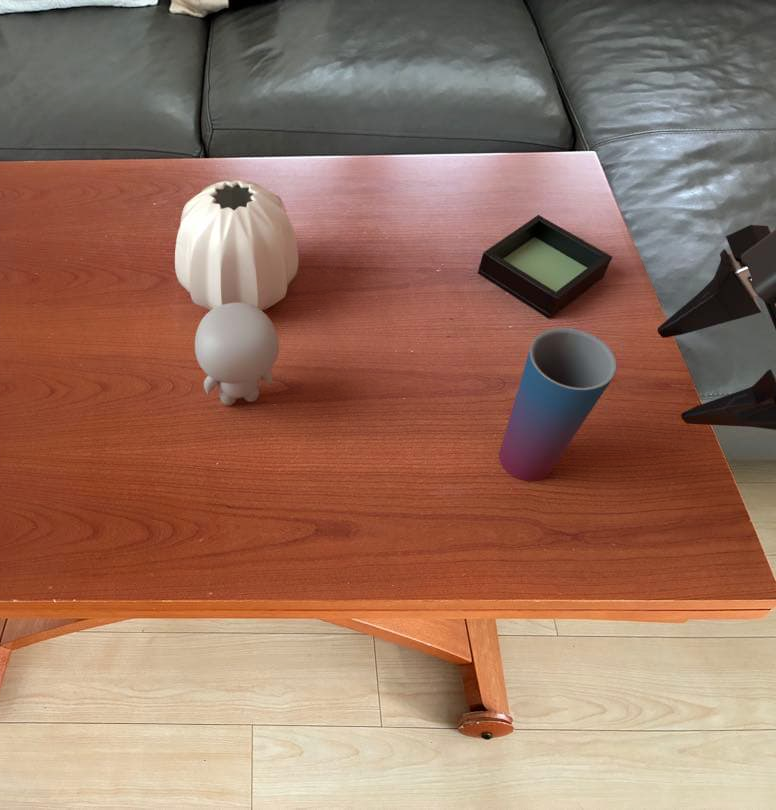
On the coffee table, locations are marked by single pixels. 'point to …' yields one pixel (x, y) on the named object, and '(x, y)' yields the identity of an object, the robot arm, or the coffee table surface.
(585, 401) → the cup
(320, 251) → the coffee table surface
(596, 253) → the tray
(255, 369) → the figurine
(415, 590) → the coffee table surface
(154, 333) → the coffee table surface
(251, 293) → the vase
